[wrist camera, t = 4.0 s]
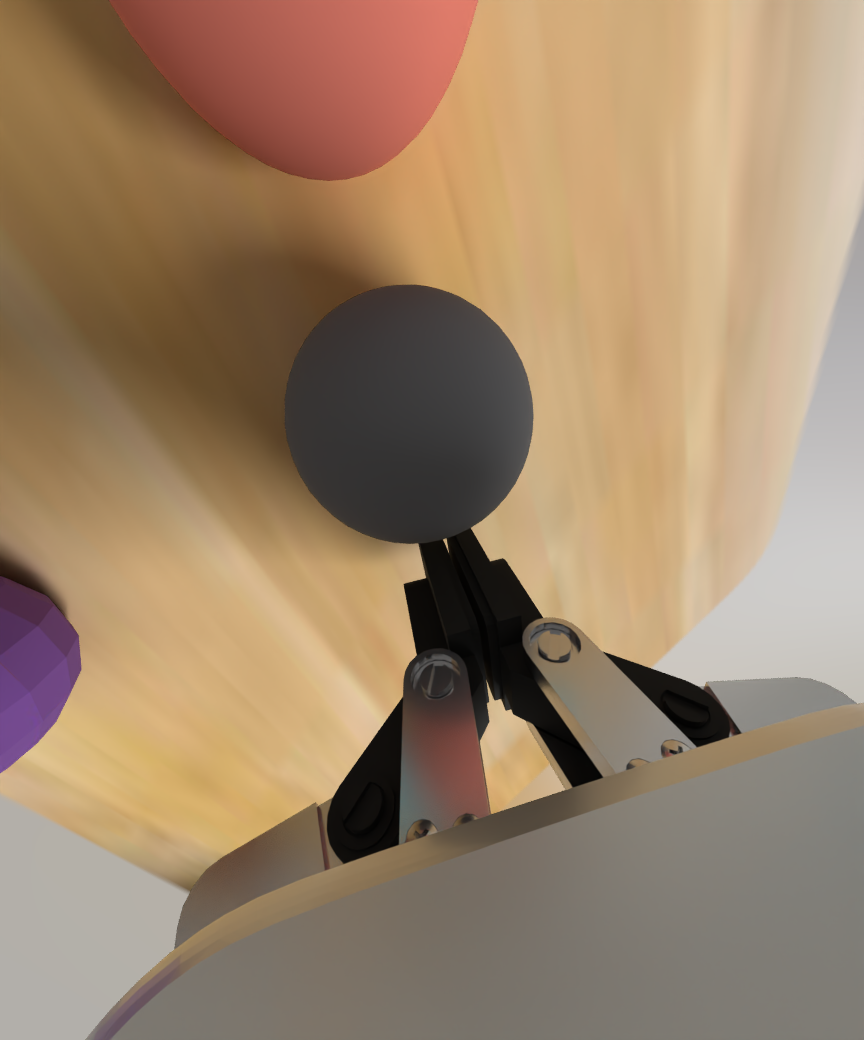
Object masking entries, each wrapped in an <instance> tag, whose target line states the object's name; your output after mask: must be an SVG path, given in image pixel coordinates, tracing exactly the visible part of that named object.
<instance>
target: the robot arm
mask: <svg viewBox="0 0 864 1040" xmlns="http://www.w3.org/2000/svg"><path fill="white" fill-rule="evenodd" d="M447 543H448V549H449V553H448V550H447V548H446V545H445V543H444V541H443V539H442V540H438V541H433V542H428V543H418V544H419V548H420V552H421V557H422V561H423V566H424V570H425V575H426V578H425V579H421V580H417V581H413V582H409V583H405V584H404V589H405V595H406V600H407V605H408V611H409V616H410V621H411V626H412V632H413V637H414V642H415V648H416V653H417V656H416V657H415V658H414V659H413V660H412V661H411V662H410V663H409V665H408V667H407V669H406V671H405V675H404V685H403V697H402V699H401V700H400V702H399V703H398V704H397V706H396V707H395V709H394V710H393V712H392V713H391V714H390V716H389V717H388V719H387V720H386V721H385V723H384V724H383V726H382V727H381V728H380V730H379V731H378V733H377V734H376V735H375V737H374V738H373V740H372V741H371V743H370V744H369V745H368V747H367V748H366V750H365V751H364V752H363V754H362V755H361V757H360V758H359V759H358V761H357V762H356V764H355V765H354V766H353V768H352V769H351V771H350V772H349V773H348V775H347V776H346V778H345V779H344V781H343V782H342V783H341V785H340V786H339V788H338V790H337V791H336V793H335V795H334V797H333V798H331V799H329V800H328V801H326V802H324V803H323V804H321V805H319V806H318V804H317V803H316V802H315V803H314V804H312V805H310V806H309V807H307V808H305V809H304V810H302V811H300V812H298V813H297V814H295V815H293V816H292V817H290V818H288V819H287V820H285V821H283V822H282V823H280V824H278V825H276V826H275V827H273V828H271V829H270V830H268V831H266V832H265V833H263V834H261V835H259V836H258V837H256V838H254V839H253V840H251V841H249V842H248V843H246V844H244V845H243V846H241V847H239V848H237V849H236V850H234V851H232V852H231V853H229V854H227V855H226V856H224V857H222V858H221V859H219V860H218V861H217V862H215V863H214V864H213V865H212V866H210V867H209V868H208V869H207V870H206V871H205V872H204V873H203V875H202V876H201V877H200V878H199V880H198V881H197V882H196V884H195V885H194V886H193V888H192V890H191V892H190V894H189V896H188V898H187V900H186V902H185V903H184V905H183V908H182V912H181V916H180V919H179V923H178V927H177V934H176V942H175V949H174V950H173V951H172V952H171V953H169V954H168V955H167V956H166V957H165V958H164V959H163V960H162V961H160V962H159V963H158V964H157V965H156V966H155V967H154V968H152V969H151V970H150V971H149V972H148V973H147V974H146V975H145V976H143V977H142V978H141V979H140V980H139V981H138V982H137V983H136V984H135V985H134V986H133V987H132V988H131V989H130V990H129V991H128V992H127V993H126V994H125V995H124V996H123V997H122V998H121V999H120V1001H118V1003H117V1004H116V1005H115V1006H114V1007H113V1008H112V1009H111V1010H110V1011H109V1012H108V1013H107V1014H106V1016H105V1017H104V1018H103V1019H102V1020H101V1021H100V1023H99V1024H98V1025H97V1026H96V1027H95V1029H94V1030H93V1031H92V1032H91V1033H90V1034H89V1036H88V1037H87V1039H86V1040H864V703H859V704H857V703H856V702H854V701H853V700H852V699H850V698H849V697H848V696H847V695H845V694H844V693H842V692H841V691H839V690H837V689H835V688H833V687H831V686H829V685H827V684H825V683H822V682H818V681H816V680H813V679H808V678H798V677H795V678H773V679H753V680H735V681H714V682H706V684H705V686H704V687H698V686H696V685H694V684H692V683H690V682H688V681H685V680H682V679H680V678H676V677H674V676H671V675H668V674H665V673H662V672H659V671H657V670H654V669H651V668H648V667H645V666H642V665H640V664H637V663H634V662H631V661H628V660H625V659H622V658H620V657H617V656H614V655H611V654H608V653H605V652H602V651H601V650H600V649H599V648H598V647H597V646H596V645H595V644H594V643H593V642H592V641H591V640H590V639H589V638H588V637H587V636H586V635H585V634H584V633H583V632H582V631H581V630H580V629H579V628H578V627H576V626H575V625H574V624H572V623H570V622H568V621H566V620H563V619H559V618H543V617H542V615H541V614H540V612H539V611H538V609H537V608H536V606H535V604H534V603H533V601H532V600H531V598H530V597H529V595H528V594H527V592H526V591H525V589H524V588H523V586H522V585H521V583H520V581H519V580H518V578H517V577H516V575H515V574H514V572H513V571H512V569H511V568H510V566H509V565H508V563H507V562H506V560H505V559H503V558H502V559H498V560H494V561H490V560H489V559H488V557H487V555H486V554H485V552H484V550H483V548H482V547H481V545H480V543H479V542H478V540H477V538H476V536H475V535H474V533H473V531H472V530H471V528H469V529H467V530H465V531H463V532H461V533H459V534H457V535H455V536H452V537H448V538H447ZM486 680H487V682H488V685H489V688H490V690H491V693H492V696H493V698H494V700H498V699H501V700H502V702H503V705H504V707H505V710H506V711H507V710H510V709H511V710H512V712H513V714H514V715H516V716H518V717H520V718H522V719H524V720H526V723H527V725H528V727H529V730H530V731H531V733H532V735H533V736H534V738H535V740H536V741H537V743H538V745H539V746H540V748H541V750H542V751H543V753H544V755H545V756H546V758H547V760H548V761H549V763H550V765H551V766H552V768H553V770H554V771H555V773H556V775H557V776H558V778H559V780H560V781H561V783H562V785H563V786H564V788H565V791H562V792H558V793H556V794H552V795H550V796H547V797H543V798H540V799H537V800H534V801H531V802H528V803H525V804H522V805H519V806H516V807H513V808H510V809H506V810H504V811H500V812H497V813H494V814H491V810H490V804H489V798H488V791H487V785H486V778H485V772H484V766H483V759H482V753H481V746H480V740H481V738H482V736H483V734H484V731H485V729H486V727H487V725H488V723H489V716H488V709H487V703H488V702H489V697H488V689H487V682H486Z"/></svg>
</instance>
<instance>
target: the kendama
mask: <svg viewBox="0 0 864 1040" xmlns="http://www.w3.org/2000/svg"><path fill="white" fill-rule="evenodd" d="M80 671H81V658H80V647H79V636H78V634H77V632H76V631H75V629H74V628H73V626H72V625H71V624H70V622H69V621H68V620H67V619H66V618H65V616H64V615H63V614H62V613H61V612H60V610H59V609H58V608H57V607H56V606H55V605H54V603H53V602H52V601H51V600H50V599H49V597H48V596H46V595H44V594H41V593H39V592H37V591H34V590H32V589H30V588H28V587H25V586H23V585H21V584H18V583H16V582H14V581H12V580H9V579H7V578H5V577H2V576H0V773H1V772H3V771H4V770H6V769H7V768H8V767H10V766H11V765H12V764H13V763H14V762H16V761H17V760H18V759H19V758H20V757H21V756H23V755H24V754H25V753H26V752H27V751H28V750H30V749H31V748H32V747H33V746H34V745H36V744H37V743H38V742H39V740H40V739H41V738H42V737H43V736H44V735H45V734H46V733H47V731H48V730H49V729H50V728H51V727H52V726H53V725H54V723H55V722H56V721H57V719H58V717H59V715H60V713H61V711H62V709H63V707H64V705H65V703H66V701H67V699H68V697H69V695H70V693H71V691H72V689H73V686H74V684H75V682H76V680H77V678H78V676H79V674H80Z"/></svg>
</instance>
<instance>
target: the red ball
mask: <svg viewBox="0 0 864 1040" xmlns="http://www.w3.org/2000/svg"><path fill="white" fill-rule="evenodd" d="M109 2H110V3H111V5H112V6H113V8H114V9H115V11H116V12H117V14H118V16H119V17H120V19H121V20H122V22H123V23H124V25H125V26H126V28H127V30H128V31H129V33H130V34H131V35H132V37H133V38H134V39H135V41H136V42H137V43H138V45H139V46H140V47H141V49H142V50H143V51H144V53H145V54H146V55H147V56H148V58H149V59H150V60H151V62H152V63H153V64H154V66H155V67H156V68H157V69H158V71H159V72H160V73H161V74H162V75H163V76H164V78H165V79H166V80H167V81H168V82H169V83H170V84H171V85H172V87H173V88H174V89H175V90H176V91H177V92H178V93H179V94H180V95H181V97H182V98H183V99H184V100H185V101H186V102H187V103H188V104H189V105H190V107H191V108H192V109H193V110H194V111H196V112H197V113H198V114H199V115H200V116H201V117H202V118H203V119H204V120H205V121H206V122H208V123H209V124H210V125H211V126H212V127H213V128H214V129H215V130H216V131H218V132H219V133H220V134H222V135H223V136H224V137H226V138H227V139H228V140H230V141H231V142H232V143H234V144H235V145H236V146H238V147H239V148H240V149H242V150H243V151H245V152H246V153H248V154H249V155H251V156H253V157H255V158H256V159H258V160H260V161H261V162H263V163H265V164H267V165H269V166H271V167H273V168H276V169H278V170H281V171H283V172H285V173H288V174H291V175H295V176H299V177H303V178H307V179H315V180H326V181H331V180H343V179H349V178H353V177H357V176H361V175H364V174H367V173H369V172H371V171H373V170H375V169H377V168H379V167H381V166H383V165H384V164H386V163H387V162H389V161H390V160H391V159H393V158H394V157H396V156H397V155H398V154H399V153H400V152H401V151H402V150H403V149H404V148H405V147H406V146H407V145H408V144H409V143H410V142H411V141H412V140H413V139H414V138H415V137H416V136H417V135H418V134H419V133H420V131H421V130H422V129H423V127H424V126H425V125H426V123H427V122H428V121H429V119H430V118H431V117H432V115H433V113H434V111H435V110H436V108H437V106H438V104H439V103H440V101H441V99H442V97H443V96H444V94H445V92H446V90H447V88H448V86H449V84H450V82H451V79H452V77H453V75H454V72H455V70H456V68H457V65H458V63H459V60H460V58H461V56H462V53H463V50H464V47H465V43H466V40H467V37H468V34H469V30H470V27H471V24H472V20H473V17H474V13H475V10H476V6H477V3H478V0H109Z"/></svg>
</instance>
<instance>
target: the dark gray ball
mask: <svg viewBox="0 0 864 1040" xmlns="http://www.w3.org/2000/svg"><path fill="white" fill-rule="evenodd" d="M285 429H286V436H287V441H288V445H289V448H290V451H291V455H292V458H293V461H294V463H295V465H296V467H297V470H298V472H299V474H300V476H301V478H302V480H303V481H304V483H305V484H306V486H307V487H308V489H309V491H310V492H311V493H312V494H313V495H314V497H315V498H316V499H317V500H318V501H319V503H320V504H321V505H322V506H323V507H324V508H325V509H327V510H328V511H329V512H330V513H331V514H332V515H333V516H334V517H336V518H337V519H338V520H340V521H341V522H343V523H344V524H346V525H347V526H349V527H351V528H353V529H354V530H356V531H358V532H360V533H362V534H365V535H368V536H371V537H373V538H376V539H380V540H384V541H389V542H394V543H406V544H414V543H428V542H433V541H438V540H442V539H445V538H448V537H452V536H455V535H457V534H459V533H461V532H463V531H465V530H467V529H469V528H471V527H473V526H474V525H476V524H477V523H479V522H480V521H482V520H483V519H484V518H485V517H487V516H488V515H489V514H490V513H491V512H492V511H494V510H495V509H496V508H497V506H498V505H499V504H500V503H501V502H502V501H503V500H504V499H505V498H506V496H507V495H508V493H509V492H510V490H511V489H512V488H513V486H514V485H515V483H516V481H517V479H518V477H519V475H520V473H521V471H522V469H523V467H524V464H525V461H526V458H527V455H528V452H529V447H530V442H531V437H532V430H533V402H532V396H531V391H530V386H529V382H528V377H527V374H526V372H525V369H524V366H523V364H522V361H521V359H520V357H519V355H518V354H517V352H516V350H515V348H514V346H513V345H512V343H511V342H510V340H509V339H508V337H507V336H506V335H505V333H504V332H503V331H502V330H501V328H500V327H499V326H498V325H497V324H496V323H495V322H494V321H493V320H492V319H491V318H489V317H488V316H487V315H486V314H485V313H484V312H483V311H482V310H481V309H479V308H477V307H476V306H474V305H472V304H471V303H469V302H468V301H466V300H464V299H463V298H461V297H459V296H457V295H454V294H452V293H449V292H446V291H443V290H440V289H437V288H432V287H428V286H421V285H394V286H385V287H381V288H376V289H373V290H370V291H367V292H364V293H362V294H359V295H357V296H355V297H353V298H351V299H349V300H348V301H346V302H344V303H342V304H341V305H339V306H338V307H336V308H335V309H334V310H332V311H331V312H330V313H328V314H327V315H326V316H325V317H324V318H323V319H322V320H321V321H320V322H319V324H318V325H317V326H316V327H315V328H314V329H313V330H312V332H311V333H310V334H309V336H308V337H307V338H306V340H305V342H304V343H303V345H302V347H301V349H300V350H299V352H298V354H297V356H296V358H295V360H294V363H293V366H292V369H291V372H290V375H289V379H288V383H287V388H286V394H285Z"/></svg>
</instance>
